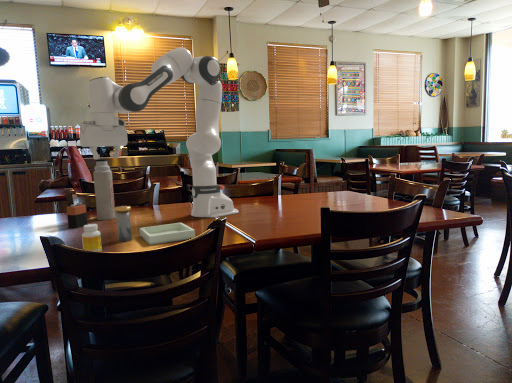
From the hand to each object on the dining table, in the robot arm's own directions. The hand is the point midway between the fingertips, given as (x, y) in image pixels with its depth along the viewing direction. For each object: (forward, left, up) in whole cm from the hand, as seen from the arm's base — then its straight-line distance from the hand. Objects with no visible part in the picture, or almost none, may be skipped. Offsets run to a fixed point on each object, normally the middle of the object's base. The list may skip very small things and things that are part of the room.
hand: (106, 158), depth 144 cm
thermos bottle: (-2, -36, -29) cm, 47 cm away
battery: (+11, -24, -29) cm, 39 cm away
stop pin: (-2, +14, -29) cm, 32 cm away
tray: (-16, +18, -29) cm, 38 cm away
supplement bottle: (+10, +28, -29) cm, 42 cm away
